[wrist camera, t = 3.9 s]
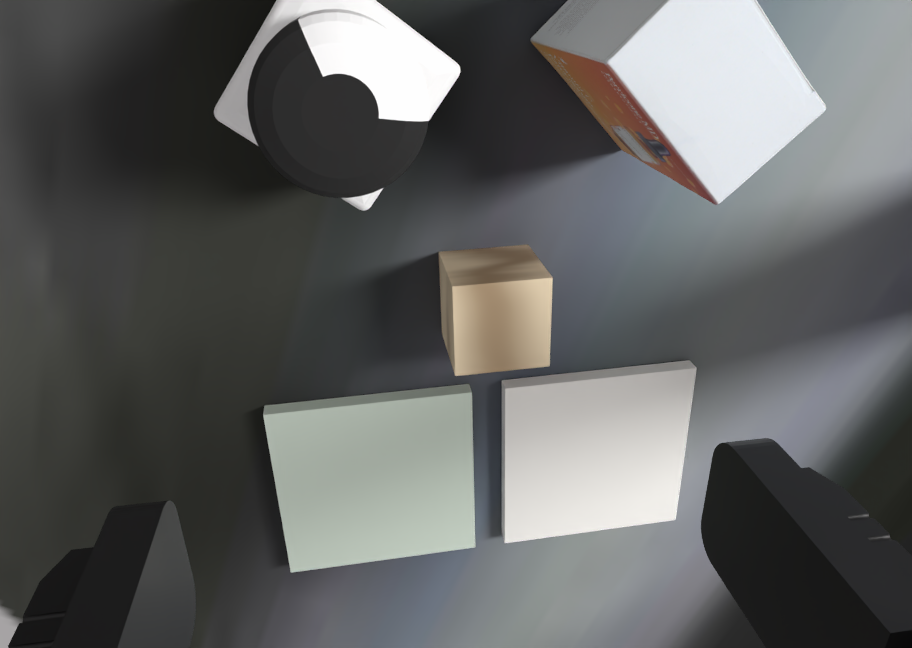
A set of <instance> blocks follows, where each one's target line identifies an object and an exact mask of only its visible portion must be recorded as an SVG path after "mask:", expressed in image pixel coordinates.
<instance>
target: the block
mask: <svg viewBox="0 0 912 648" xmlns="http://www.w3.org/2000/svg"><path fill="white" fill-rule="evenodd" d="M439 274H440V298H441V322H442V335H443V339H444V342H445V345H446V348H447V351H448V355H449V358H450V361H451V364H452V367H453V370H454V374H455V376H461V375H471V374H480V373H490V372H500V371H509V370H519V369H528V368H538V367H547V366H550V341H551V312H552V283H553V277H552V276H551V275H550V273H549V272H548V271H547V269H546V268H545V267H544V265H543V264H542V263H541V261H540V260H539V259H538V257H537V256H536V255H535V253H534V252H533V251H532V249H531V248H530V247H529V245H517V246H505V247H493V248H481V249H469V250H456V251H444V252H439Z"/></svg>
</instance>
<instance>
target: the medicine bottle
mask: <svg viewBox="0 0 912 648" xmlns="http://www.w3.org/2000/svg"><path fill="white" fill-rule="evenodd" d="M460 72H461V71H460V66H459V65H458V63H457V62H455V61H454V60H453V59H451V58H450V57H449V56H448V55H446V54H445V53H444V52H442V51H441V50H440V49H438V48H437V47H436V46H435V45H433V44H432V43H431V42H429V41H428V40H427V39H425V38H424V37H423V36H421V35H420V34H419V33H418V32H416V31H415V30H414V29H412V28H411V27H410V26H408V25H407V24H406V23H405V22H403V21H402V20H401V19H399V18H398V17H397V16H395V15H394V14H393V13H391V12H390V11H389V10H388V9H386V8H385V7H384V6H382V5H381V4H380V3H378V2H377V1H376V0H276V2H275V4H274V5H273V7H272V9H271V11H270V12H269V14H268V16H267V18H266V19H265V21H264V23H263V25H262V26H261V28H260V30H259V32H258V33H257V35H256V37H255V38H254V40H253V42H252V44H251V45H250V47H249V49H248V51H247V52H246V54H245V56H244V58H243V59H242V61H241V63H240V65H239V66H238V68H237V70H236V71H235V73H234V75H233V77H232V78H231V80H230V82H229V84H228V85H227V87H226V89H225V91H224V92H223V94H222V96H221V98H220V99H219V101H218V103H217V104H216V106H215V109H214V115H215V118H216V119H217V120H218V121H219V122H221V123H223V124H224V125H226V126H227V127H229V128H230V129H232V130H234V131H235V132H237V133H238V134H240V135H242V136H243V137H245V138H246V139H248V140H250V141H251V142H253V143H254V144H256V145H257V146H259V148H260V149H261V151H262V153H263V155H264V156H265V157H266V159H267V160H268V161H269V163H270V164H271V165H272V166H273V167H274V168H275V169H276V170H277V171H278V172H279V173H280V174H281V175H282V176H283V177H285V178H286V179H287V180H289V181H290V182H291V183H293V184H295V185H297V186H298V187H300V188H302V189H304V190H307V191H309V192H312V193H314V194H318V195H322V196H326V197H334V198H342V199H343V200H345V201H346V202H348V203H350V204H351V205H353V206H354V207H356V208H358V209H360V210H363V211H364V210H368V209H369V208H370V207H371V206H372V204H373V203H374V201H375V200H376V198H377V197H378V195H379V194H380V192H381V191H382V189H383V188H384V187H386V186H387V185H389V184H391V183H392V182H394V181H395V180H396V179H397V178H398V177H400V176H401V175H402V174H403V173H404V172H405V171H406V170H407V169H408V167H409V166H410V165H411V164H412V162H413V161H414V159H415V158H416V156H417V155H418V153H419V151H420V149H421V147H422V145H423V142H424V139H425V136H426V133H427V127H428V122H429V120H430V118H431V117H432V115H433V114H434V112H435V111H436V110H437V108H438V107H439V105H440V104H441V102H442V101H443V99H444V98H445V96H446V95H447V93H448V92H449V90H450V89H451V87H452V86H453V84H454V83H455V81H456V80H457V78H458V77H459V75H460Z"/></svg>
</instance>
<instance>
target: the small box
mask: <svg viewBox="0 0 912 648" xmlns="http://www.w3.org/2000/svg"><path fill="white" fill-rule="evenodd" d="M531 42H532V44H533V45H534V46H535V47H536V48H537V49H538V50H539V52H540V53H541V54H542V55H543V56H544V57H545V58H546V59H547V60H548V62H549V63H550V64H551V65H552V66H553V67H554V69H555V70H556V71H557V72H558V73H559V74H560V76H561V77H562V78H563V79H564V80H565V81H566V83H567V84H568V85H569V86H570V88H571V89H572V90H573V91H574V92H575V94H576V95H577V96H578V97H579V99H580V100H581V101H582V102H583V104H584V105H585V106H586V107H587V109H588V110H589V111H590V112H591V113H592V115H593V116H594V117H595V118H596V120H597V121H598V122H599V123H600V124H601V126H602V127H603V128H604V129H605V130H606V132H607V133H608V134H609V135H610V136H611V138H612V139H613V140H614V141H615V143H616V144H617V145H618V146H619V147H620V149H621V150H623V151H624V152H626V153H628V154H630V155H632V156H633V157H635V158H637V159H639V160H640V161H642V162H644V163H645V164H647V165H648V166H650V167H652V168H654V169H655V170H657V171H659V172H661V173H663V174H664V175H666V176H668V177H670V178H671V179H673V180H674V181H676V182H678V183H679V184H681V185H683V186H684V187H686V188H688V189H690V190H691V191H693V192H695V193H697V194H698V195H700V196H701V197H703V198H705V199H707V200H708V201H710V202H712V203H713V204H715V205H718V204H720V203H721V202H722V201H723V200H724V199H725V198H726V197H727V196H729V195H730V194H731V193H732V192H733V191H735V190H736V189H737V188H738V187H739V186H740V185H741V184H743V183H744V182H745V181H746V180H747V179H748V178H749V177H750V176H752V175H753V174H754V173H755V172H756V171H757V170H758V169H759V168H761V167H762V166H763V165H764V164H765V163H766V162H767V161H768V160H770V159H771V158H772V157H773V156H774V155H775V154H776V153H778V152H779V151H780V150H781V149H782V148H783V147H784V146H785V145H787V144H788V143H789V142H790V141H791V140H792V139H793V138H795V137H796V136H797V135H798V134H799V133H800V132H801V131H803V130H804V129H805V128H806V127H807V126H808V125H809V124H811V123H812V122H813V121H814V120H815V119H816V118H817V117H819V116H820V115H821V114H822V113H823V112H824V111H825V110H826V105H825V103H824V102H823V101H822V99H821V98H820V97H819V95H818V94H817V93H816V91H815V90H814V89H813V87H812V86H811V84H810V83H809V81H808V80H807V78H806V77H805V75H804V74H803V73H802V71H801V69H800V68H799V66H798V65H797V63H796V62H795V60H794V59H793V57H792V56H791V54H790V52H789V51H788V49H787V48H786V46H785V45H784V43H783V41H782V40H781V38H780V37H779V35H778V34H777V32H776V30H775V29H774V27H773V26H772V24H771V23H770V21H769V19H768V18H767V16H766V15H765V13H764V11H763V10H762V8H761V7H760V5H759V4H758V2H757V0H568V1H567V2H566V3H565V4H564V5H563V6H562V7H561V8H560V9H559V10H558V11H557V12H556V13H555V14H554V15H553V16H552V17H551V18H550V19H549V20H548V21H547V22H546V23H545V24H544V25H543V26H542V27H541V28H540V29H539V30H538V31H537V32H536V34H534V35H533V36H532V37H531Z"/></svg>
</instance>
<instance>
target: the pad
mask: <svg viewBox="0 0 912 648" xmlns="http://www.w3.org/2000/svg"><path fill="white" fill-rule="evenodd" d="M696 370H697V368H696V367H695V366H694V365H693V363H692V362H691V361H690V360H687V361H677V362H668V363H659V364H649V365H640V366H631V367H621V368H612V369H602V370H593V371H584V372H574V373H565V374H556V375H546V376H537V377H527V378H518V379H509V380H502V536H503V539H504V542H505V543H510V542H518V541H525V540H532V539H539V538H547V537H554V536H561V535H569V534H576V533H583V532H590V531H598V530H605V529H612V528H620V527H627V526H634V525H641V524H649V523H656V522H663V521H671V520H676V513H677V506H678V499H679V491H680V484H681V477H682V470H683V463H684V456H685V449H686V441H687V434H688V427H689V420H690V413H691V406H692V399H693V391H694V384H695V377H696Z"/></svg>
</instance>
